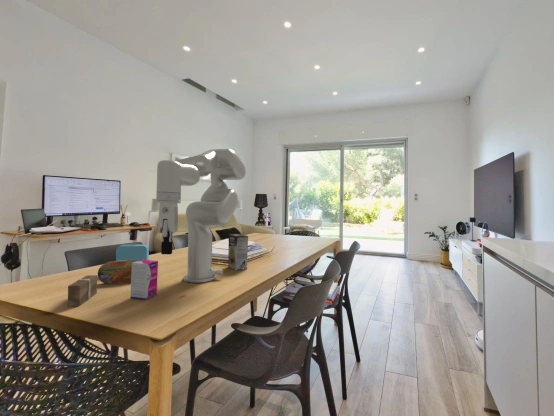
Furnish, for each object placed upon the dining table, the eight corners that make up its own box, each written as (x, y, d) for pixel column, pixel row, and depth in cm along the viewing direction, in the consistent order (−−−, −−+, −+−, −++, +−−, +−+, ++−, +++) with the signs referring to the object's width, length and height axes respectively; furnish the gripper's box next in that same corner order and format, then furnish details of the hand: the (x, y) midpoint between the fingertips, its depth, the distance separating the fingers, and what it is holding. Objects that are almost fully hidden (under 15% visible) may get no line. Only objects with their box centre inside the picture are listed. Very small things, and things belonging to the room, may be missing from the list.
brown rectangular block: (97, 293, 91) (97, 274, 91) (80, 306, 79) (80, 284, 79) (86, 293, 90) (86, 274, 90) (67, 306, 78) (67, 285, 78)
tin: (97, 285, 99) (97, 262, 99) (98, 283, 102) (98, 260, 102) (143, 281, 106) (143, 259, 106) (142, 279, 109) (143, 258, 109)
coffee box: (227, 266, 134) (228, 234, 134) (239, 265, 138) (240, 233, 138) (235, 270, 127) (236, 236, 127) (247, 269, 130) (248, 235, 130)
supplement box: (146, 300, 85) (146, 263, 85) (129, 298, 86) (130, 262, 86) (157, 294, 91) (158, 260, 91) (142, 292, 92) (142, 259, 92)
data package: (148, 270, 122) (148, 244, 122) (146, 273, 118) (146, 245, 118) (118, 271, 119) (119, 244, 119) (115, 274, 115) (116, 246, 115)
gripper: (177, 197, 83) (175, 257, 83) (183, 199, 98) (181, 250, 98) (151, 197, 82) (149, 258, 81) (160, 198, 96) (159, 250, 96)
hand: (166, 253), depth 89 cm, fingers closed
